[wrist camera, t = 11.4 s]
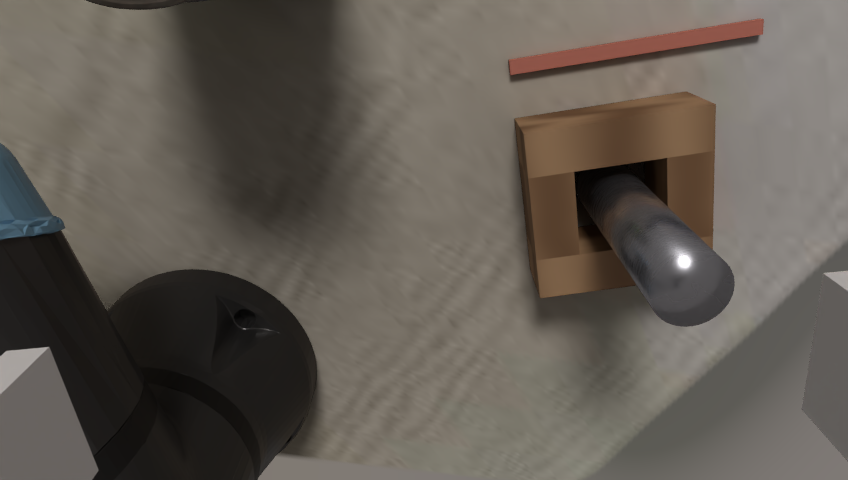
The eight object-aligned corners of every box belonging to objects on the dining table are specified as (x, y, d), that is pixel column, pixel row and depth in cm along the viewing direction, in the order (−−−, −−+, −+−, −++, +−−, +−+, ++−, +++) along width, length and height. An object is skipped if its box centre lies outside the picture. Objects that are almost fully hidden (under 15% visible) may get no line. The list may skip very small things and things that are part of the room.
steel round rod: (577, 214, 39) (650, 331, 26) (574, 162, 38) (648, 258, 25) (632, 206, 39) (733, 320, 26) (630, 154, 37) (736, 246, 24)
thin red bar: (510, 74, 35) (510, 75, 35) (508, 59, 35) (509, 60, 35) (759, 33, 34) (762, 34, 34) (760, 18, 34) (763, 19, 34)
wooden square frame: (530, 269, 40) (540, 298, 37) (514, 118, 36) (523, 134, 33) (685, 247, 40) (711, 275, 36) (686, 91, 36) (715, 104, 32)
